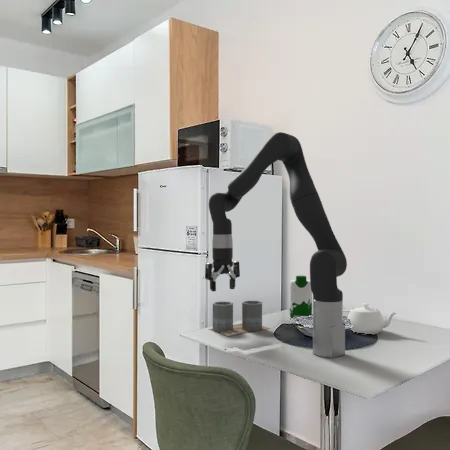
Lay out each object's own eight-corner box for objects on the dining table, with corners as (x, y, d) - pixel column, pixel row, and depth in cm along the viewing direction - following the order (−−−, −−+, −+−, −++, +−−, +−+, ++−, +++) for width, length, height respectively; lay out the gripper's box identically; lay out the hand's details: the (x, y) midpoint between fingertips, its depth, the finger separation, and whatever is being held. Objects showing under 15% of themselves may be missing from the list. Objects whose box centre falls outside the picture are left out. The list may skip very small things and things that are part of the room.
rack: (271, 331, 179) (271, 302, 178) (228, 340, 167) (228, 308, 167) (249, 325, 189) (249, 297, 189) (208, 332, 177) (208, 302, 177)
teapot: (333, 332, 178) (333, 303, 178) (343, 325, 190) (343, 298, 189) (393, 340, 167) (394, 309, 166) (401, 332, 178) (401, 303, 178)
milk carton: (289, 328, 184) (290, 276, 184) (289, 322, 193) (289, 273, 193) (312, 328, 183) (313, 277, 183) (310, 323, 192) (311, 274, 192)
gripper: (212, 247, 169) (212, 293, 169) (243, 246, 177) (244, 289, 177) (200, 247, 175) (201, 290, 175) (231, 245, 183) (232, 287, 183)
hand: (222, 290), depth 176 cm, fingers open, 8 cm apart
